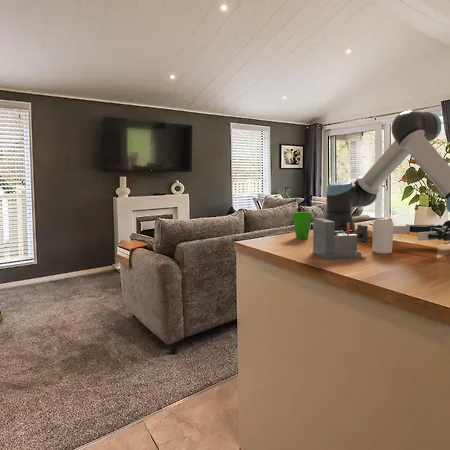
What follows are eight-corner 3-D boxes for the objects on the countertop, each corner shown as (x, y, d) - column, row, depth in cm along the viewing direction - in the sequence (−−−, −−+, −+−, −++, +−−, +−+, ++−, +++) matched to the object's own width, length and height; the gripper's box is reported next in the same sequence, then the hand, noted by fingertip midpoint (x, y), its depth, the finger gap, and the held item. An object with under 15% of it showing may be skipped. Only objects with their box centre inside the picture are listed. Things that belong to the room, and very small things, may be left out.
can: (396, 252, 123) (397, 218, 121) (384, 255, 120) (385, 220, 118) (380, 249, 129) (381, 216, 127) (368, 251, 126) (369, 218, 124)
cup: (290, 236, 159) (290, 212, 157) (310, 235, 159) (310, 211, 157) (293, 240, 150) (293, 214, 149) (314, 239, 150) (314, 214, 148)
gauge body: (345, 250, 128) (346, 216, 126) (361, 257, 117) (362, 220, 116) (312, 252, 126) (313, 218, 125) (325, 259, 116) (326, 222, 114)
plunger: (360, 243, 125) (360, 219, 124) (368, 246, 120) (369, 222, 118) (336, 244, 124) (336, 221, 123) (344, 248, 118) (344, 223, 117)
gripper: (487, 247, 116) (429, 251, 113) (432, 234, 140) (383, 237, 137) (489, 224, 115) (431, 227, 111) (433, 215, 139) (384, 218, 136)
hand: (404, 233), depth 124 cm, fingers open, 13 cm apart
